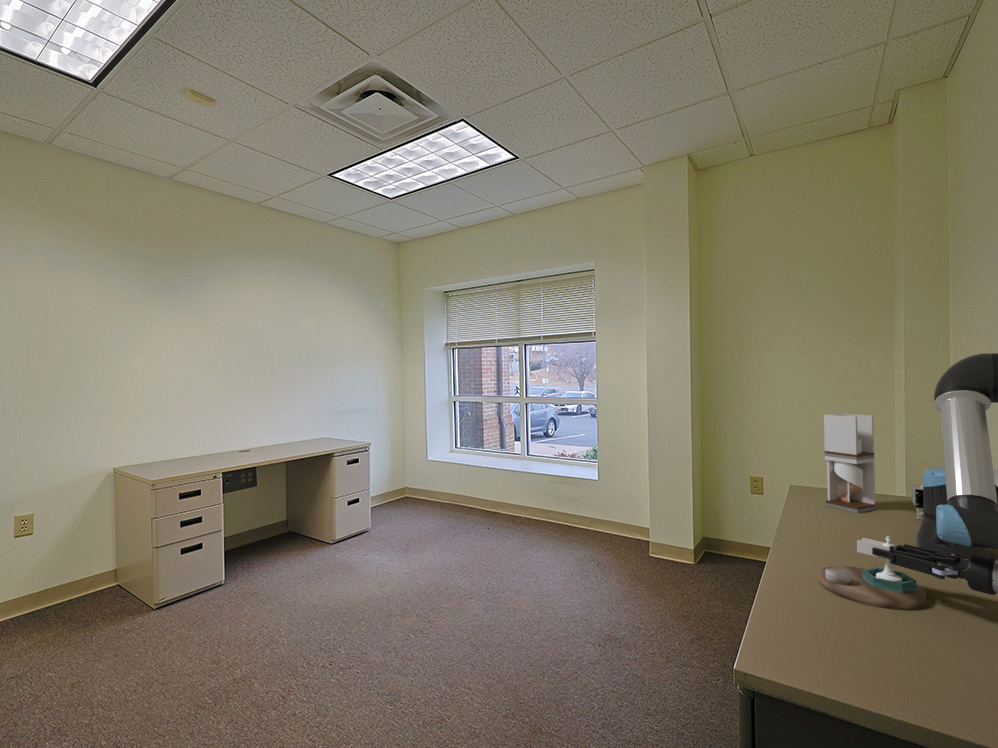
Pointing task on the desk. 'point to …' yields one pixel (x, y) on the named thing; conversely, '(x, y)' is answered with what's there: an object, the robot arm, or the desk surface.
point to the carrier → (872, 587)
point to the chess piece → (888, 568)
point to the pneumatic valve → (918, 500)
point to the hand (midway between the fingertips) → (860, 544)
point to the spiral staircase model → (850, 461)
